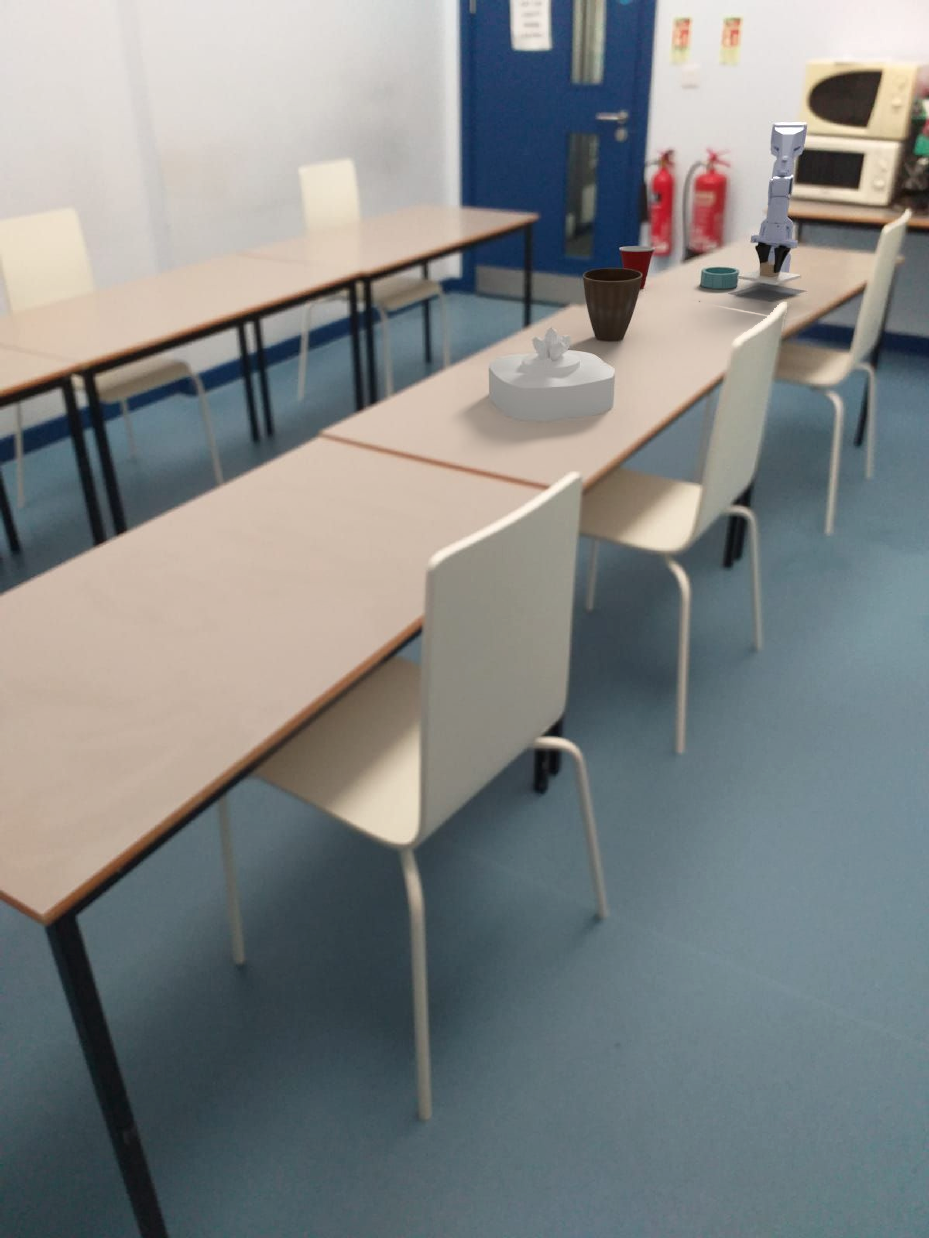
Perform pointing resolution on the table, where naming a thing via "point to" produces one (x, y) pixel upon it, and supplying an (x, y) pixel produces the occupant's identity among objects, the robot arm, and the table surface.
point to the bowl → (719, 277)
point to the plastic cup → (637, 259)
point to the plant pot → (611, 300)
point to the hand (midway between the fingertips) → (770, 271)
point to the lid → (768, 275)
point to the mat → (767, 292)
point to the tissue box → (551, 382)
